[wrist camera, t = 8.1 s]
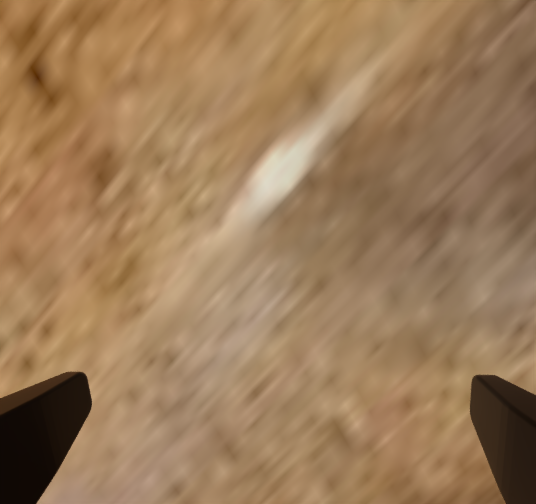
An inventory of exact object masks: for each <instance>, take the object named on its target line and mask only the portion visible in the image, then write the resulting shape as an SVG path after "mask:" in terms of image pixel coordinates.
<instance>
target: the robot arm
mask: <svg viewBox="0 0 536 504" xmlns="http://www.w3.org/2000/svg"><path fill="white" fill-rule="evenodd" d="M91 407H92V399H91V394H90V389H89V384H88V379H87V376H86V374H85V373H83V372H66V373H63V374H60V375H58V376H55V377H53V378H50V379H48V380H45V381H43V382H40V383H38V384H35V385H33V386H30V387H28V388H25V389H23V390H20V391H18V392H15V393H13V394H10V395H8V396H5V397H3V398H0V504H36V503H37V502H38V500H39V499H40V497H41V496H42V494H43V493H44V491H45V490H46V488H47V487H48V485H49V484H50V482H51V481H52V479H53V477H54V476H55V474H56V473H57V471H58V469H59V468H60V466H61V464H62V462H63V461H64V459H65V457H66V455H67V453H68V451H69V450H70V448H71V446H72V444H73V442H74V440H75V439H76V437H77V435H78V433H79V431H80V429H81V428H82V426H83V424H84V422H85V420H86V418H87V417H88V415H89V413H90V410H91ZM470 415H471V419H472V422H473V425H474V427H475V430H476V432H477V435H478V437H479V440H480V442H481V445H482V447H483V450H484V453H485V455H486V458H487V460H488V463H489V465H490V468H491V470H492V473H493V475H494V478H495V480H496V483H497V485H498V487H499V490H500V492H501V494H502V496H503V498H504V500H505V502H506V504H536V395H534V394H532V393H530V392H528V391H526V390H524V389H522V388H520V387H518V386H516V385H514V384H512V383H510V382H508V381H506V380H504V379H502V378H500V377H498V376H495V375H475V376H474V377H473V379H472V384H471V400H470Z"/></svg>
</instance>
